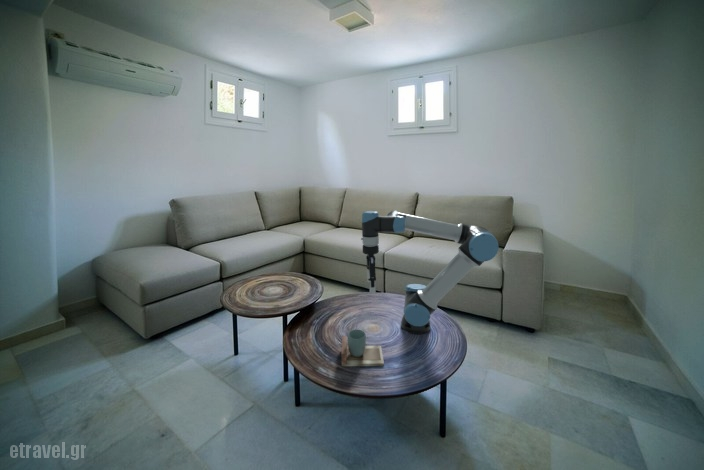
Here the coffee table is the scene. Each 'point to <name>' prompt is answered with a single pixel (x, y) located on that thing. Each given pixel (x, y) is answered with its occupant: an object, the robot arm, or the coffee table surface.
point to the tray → (369, 357)
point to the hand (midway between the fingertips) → (371, 287)
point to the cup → (356, 342)
